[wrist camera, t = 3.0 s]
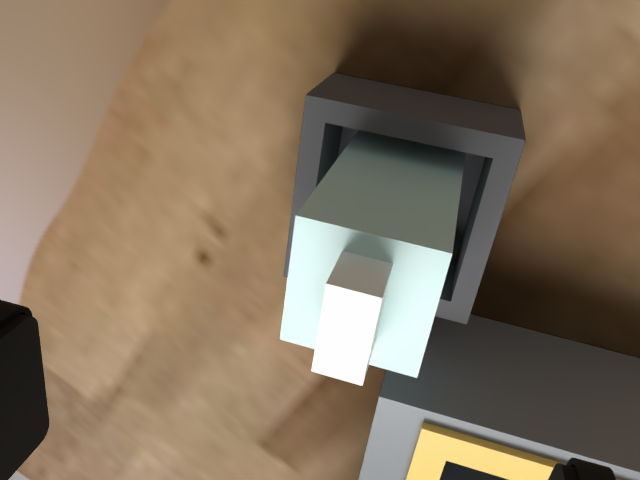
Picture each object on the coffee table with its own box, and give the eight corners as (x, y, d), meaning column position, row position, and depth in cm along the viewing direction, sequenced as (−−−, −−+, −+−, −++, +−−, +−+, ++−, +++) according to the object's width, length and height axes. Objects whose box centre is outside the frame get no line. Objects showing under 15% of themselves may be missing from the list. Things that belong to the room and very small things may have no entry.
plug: (363, 123, 20) (273, 244, 12) (466, 145, 19) (447, 288, 11) (346, 215, 22) (259, 376, 14) (441, 238, 21) (409, 421, 13)
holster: (334, 73, 20) (305, 94, 17) (520, 109, 19) (526, 140, 16) (310, 233, 23) (283, 276, 20) (470, 272, 22) (466, 324, 19)
